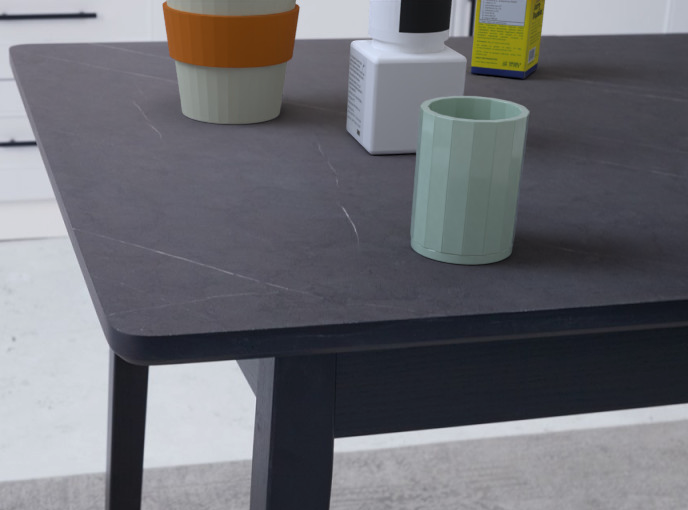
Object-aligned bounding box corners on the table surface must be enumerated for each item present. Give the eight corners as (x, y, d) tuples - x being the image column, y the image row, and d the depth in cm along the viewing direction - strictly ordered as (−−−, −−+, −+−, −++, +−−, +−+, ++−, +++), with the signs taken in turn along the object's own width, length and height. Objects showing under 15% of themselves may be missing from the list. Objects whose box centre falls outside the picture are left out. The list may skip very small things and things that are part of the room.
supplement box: (537, 69, 125) (550, -38, 120) (524, 80, 120) (537, -31, 115) (484, 64, 127) (494, -42, 122) (469, 74, 122) (479, -36, 117)
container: (429, 128, 102) (442, -27, 96) (459, 152, 95) (475, -14, 89) (345, 131, 100) (352, -27, 94) (369, 156, 93) (379, -13, 87)
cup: (531, 246, 75) (549, 108, 71) (476, 273, 71) (491, 127, 67) (447, 222, 79) (459, 90, 75) (390, 246, 75) (399, 107, 71)
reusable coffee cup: (235, 89, 113) (236, -75, 106) (328, 114, 105) (335, -62, 98) (133, 109, 105) (127, -68, 98) (225, 137, 97) (225, -52, 90)
